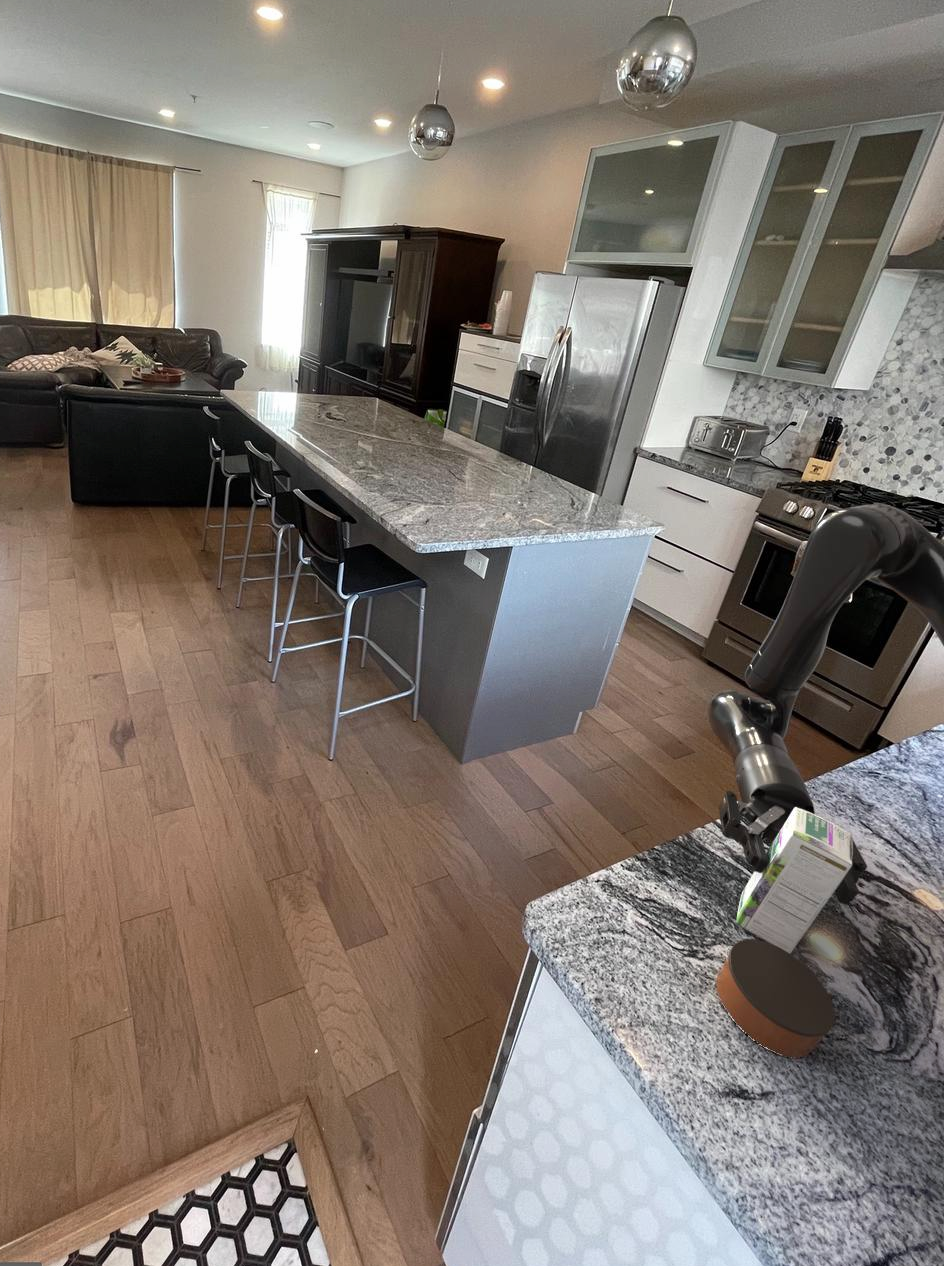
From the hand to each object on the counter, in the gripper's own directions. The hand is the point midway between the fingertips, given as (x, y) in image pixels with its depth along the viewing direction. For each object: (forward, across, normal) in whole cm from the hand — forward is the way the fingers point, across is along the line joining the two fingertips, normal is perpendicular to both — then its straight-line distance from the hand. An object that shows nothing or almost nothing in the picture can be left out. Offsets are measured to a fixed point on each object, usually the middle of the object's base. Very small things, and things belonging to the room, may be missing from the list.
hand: (803, 882), depth 68 cm
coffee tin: (+10, -3, +8) cm, 14 cm away
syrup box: (-1, 0, +8) cm, 9 cm away
